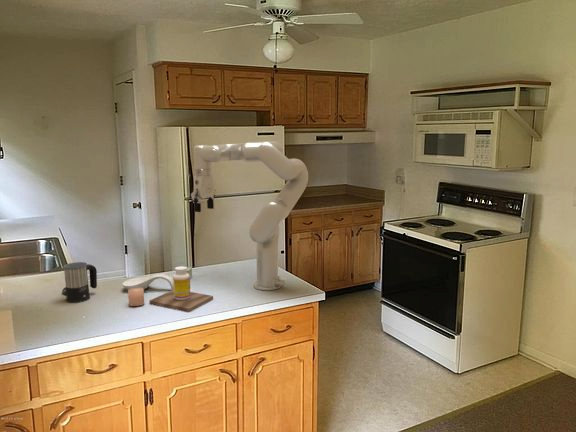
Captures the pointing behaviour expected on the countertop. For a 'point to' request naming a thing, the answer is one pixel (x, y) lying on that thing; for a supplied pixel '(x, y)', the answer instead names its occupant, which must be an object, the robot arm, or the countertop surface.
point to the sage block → (189, 271)
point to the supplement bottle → (181, 283)
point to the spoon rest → (146, 281)
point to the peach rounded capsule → (136, 296)
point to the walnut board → (181, 301)
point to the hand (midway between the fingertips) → (204, 210)
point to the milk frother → (78, 281)
